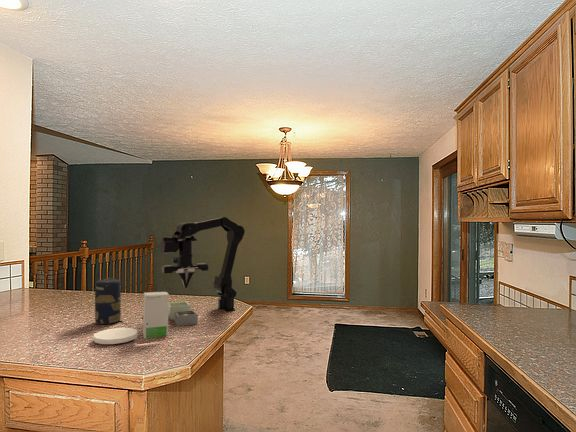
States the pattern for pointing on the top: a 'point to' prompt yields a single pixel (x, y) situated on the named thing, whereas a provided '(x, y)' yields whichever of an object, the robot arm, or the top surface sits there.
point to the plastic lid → (115, 336)
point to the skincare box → (155, 314)
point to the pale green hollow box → (177, 308)
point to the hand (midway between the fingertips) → (185, 288)
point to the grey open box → (186, 318)
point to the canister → (107, 301)
